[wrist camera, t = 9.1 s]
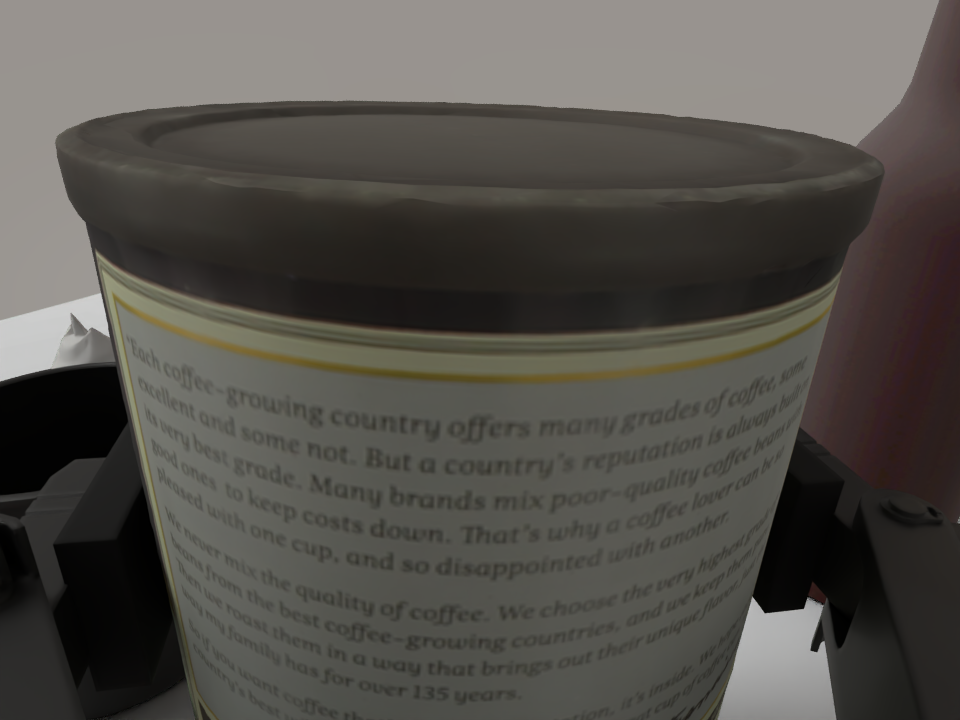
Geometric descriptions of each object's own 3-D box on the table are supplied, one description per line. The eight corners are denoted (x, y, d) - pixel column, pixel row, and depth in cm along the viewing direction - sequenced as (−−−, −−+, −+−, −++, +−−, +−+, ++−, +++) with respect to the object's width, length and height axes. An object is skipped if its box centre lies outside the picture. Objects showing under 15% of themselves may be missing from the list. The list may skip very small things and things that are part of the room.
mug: (339, 564, 29) (326, 380, 25) (48, 789, 20) (-41, 550, 16) (207, 489, 33) (179, 324, 30) (-76, 641, 24) (-167, 430, 21)
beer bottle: (902, 525, 32) (1188, -258, 20) (952, 641, 26) (1422, -420, 14) (741, 494, 34) (913, -236, 22) (750, 594, 28) (1001, -368, 16)
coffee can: (159, 721, 16) (8, 98, 10) (492, 555, 22) (518, 99, 16) (360, 1310, 9) (225, 253, 3) (782, 820, 14) (1030, 149, 8)
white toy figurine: (29, 454, 36) (-11, 317, 33) (131, 403, 41) (106, 282, 38) (98, 479, 34) (63, 337, 31) (196, 423, 39) (175, 297, 36)
